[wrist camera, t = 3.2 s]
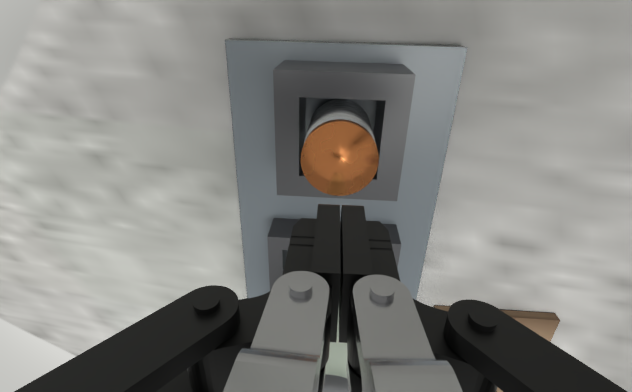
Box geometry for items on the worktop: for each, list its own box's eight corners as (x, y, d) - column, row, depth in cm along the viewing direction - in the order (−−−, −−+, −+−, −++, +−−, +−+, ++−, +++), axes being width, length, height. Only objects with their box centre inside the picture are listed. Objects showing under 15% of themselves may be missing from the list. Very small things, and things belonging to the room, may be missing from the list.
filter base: (229, 38, 22) (201, 45, 17) (462, 46, 21) (494, 54, 17) (253, 330, 33) (239, 378, 29) (404, 340, 33) (413, 392, 28)
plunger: (309, 98, 20) (300, 121, 16) (374, 100, 20) (383, 124, 15) (308, 158, 22) (300, 193, 17) (368, 160, 21) (374, 197, 17)
